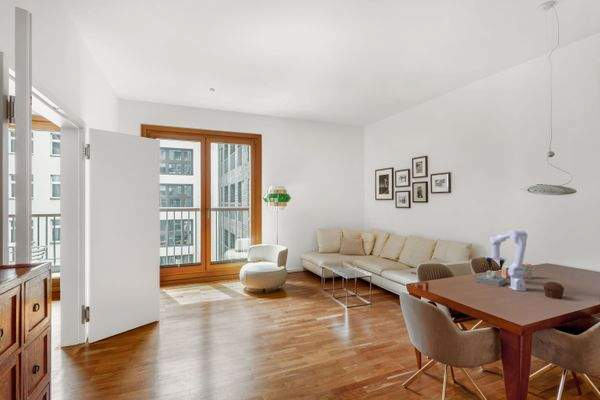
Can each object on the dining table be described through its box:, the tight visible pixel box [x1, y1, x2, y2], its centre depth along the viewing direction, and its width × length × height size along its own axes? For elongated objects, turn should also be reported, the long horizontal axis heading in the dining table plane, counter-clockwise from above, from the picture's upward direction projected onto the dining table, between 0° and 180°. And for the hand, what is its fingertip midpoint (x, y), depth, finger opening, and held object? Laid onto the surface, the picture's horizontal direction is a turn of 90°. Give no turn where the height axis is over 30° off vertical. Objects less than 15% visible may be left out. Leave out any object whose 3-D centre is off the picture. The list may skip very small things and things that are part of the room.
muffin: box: [543, 281, 565, 300], centre depth 209 cm, size 12×11×10 cm
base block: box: [476, 273, 508, 287], centre depth 246 cm, size 16×16×4 cm
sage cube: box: [486, 269, 497, 279], centre depth 245 cm, size 5×5×5 cm
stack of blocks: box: [500, 262, 532, 279], centre depth 261 cm, size 21×6×12 cm, turn 88°
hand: (495, 268), depth 251 cm, fingers open, 7 cm apart
